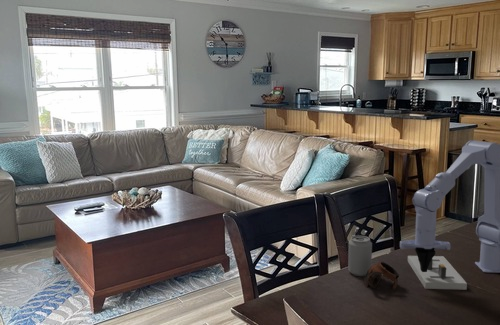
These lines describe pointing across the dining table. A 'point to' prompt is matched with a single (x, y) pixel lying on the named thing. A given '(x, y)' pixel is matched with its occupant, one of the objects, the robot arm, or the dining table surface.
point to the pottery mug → (380, 274)
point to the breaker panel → (431, 276)
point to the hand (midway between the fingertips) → (423, 270)
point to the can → (359, 255)
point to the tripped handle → (442, 271)
